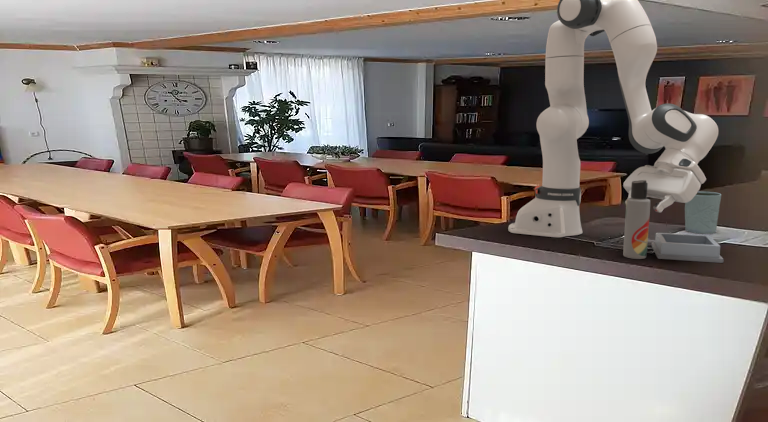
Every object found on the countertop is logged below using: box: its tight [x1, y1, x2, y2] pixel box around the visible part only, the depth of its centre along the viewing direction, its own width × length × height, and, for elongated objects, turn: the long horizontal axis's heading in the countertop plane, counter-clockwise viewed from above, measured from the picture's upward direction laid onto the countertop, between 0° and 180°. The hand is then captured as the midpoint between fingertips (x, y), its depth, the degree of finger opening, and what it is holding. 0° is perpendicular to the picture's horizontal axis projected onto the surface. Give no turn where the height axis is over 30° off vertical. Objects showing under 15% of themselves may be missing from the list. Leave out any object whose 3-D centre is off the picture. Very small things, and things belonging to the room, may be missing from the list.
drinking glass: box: [684, 190, 722, 235], centre depth 188 cm, size 10×10×12 cm
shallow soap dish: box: [651, 232, 724, 264], centre depth 160 cm, size 15×15×4 cm
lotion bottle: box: [622, 180, 651, 260], centre depth 156 cm, size 6×6×20 cm
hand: (642, 207), depth 156 cm, fingers open, 8 cm apart
